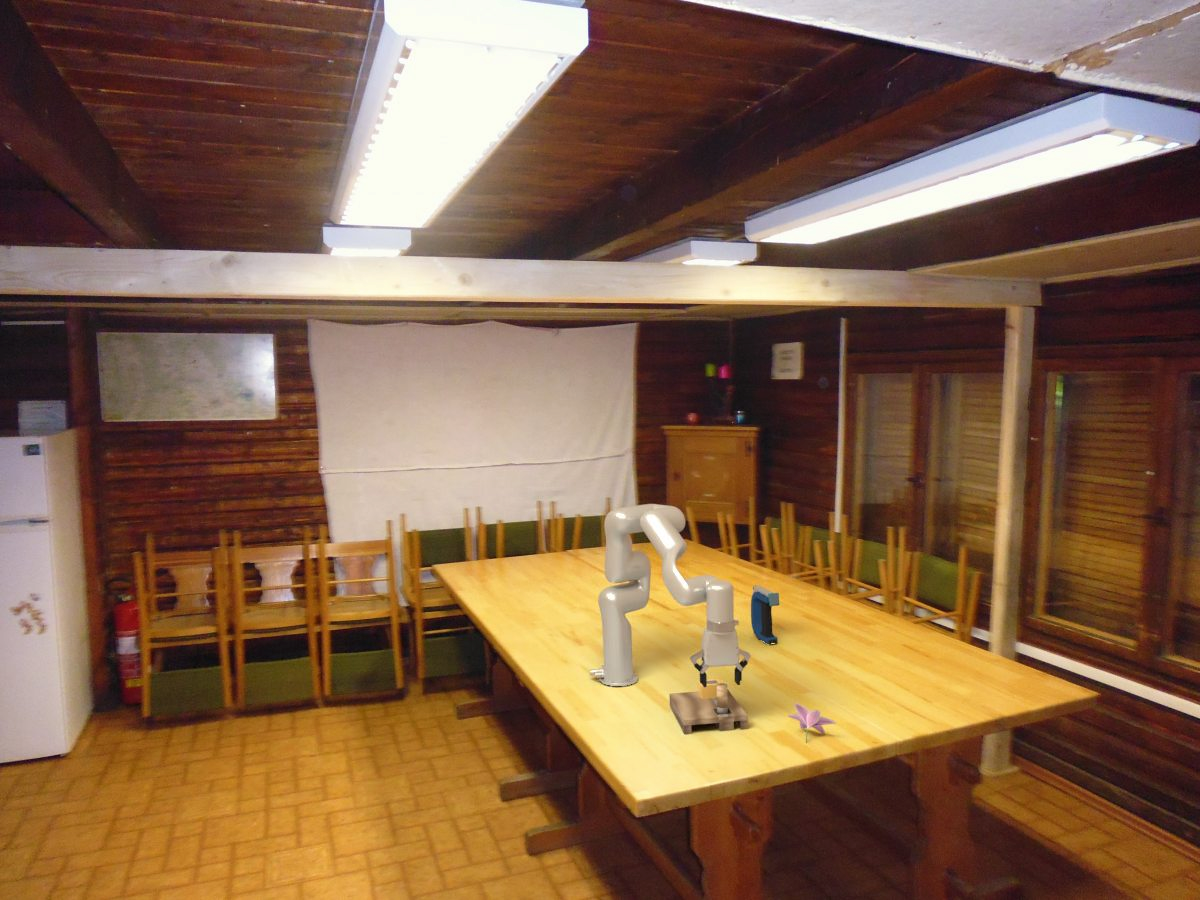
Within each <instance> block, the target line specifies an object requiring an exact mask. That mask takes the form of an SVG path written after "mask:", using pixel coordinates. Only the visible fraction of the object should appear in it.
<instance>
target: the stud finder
mask: <svg viewBox="0 0 1200 900" xmlns="http://www.w3.org/2000/svg"><path fill="white" fill-rule="evenodd" d="M720 683H724V684H725V682H724V681H723V679H722V678H713V679H712V678H711V679H710V678H709V679H707V687H703V685H702V683H700V679H698V680H697V691H698V694H699V695H700V697H701V698H702V699H709V698H717V684H720Z"/></svg>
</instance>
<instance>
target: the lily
mask: <svg viewBox="0 0 1200 900" xmlns="http://www.w3.org/2000/svg"><path fill="white" fill-rule="evenodd" d="M793 705H794V707H795V710H796V712H797V714H796V713H792V714H787V715H786V716H787V717H789V718H791V719H793V720H796V721H798V722H799V727H800V729H802V730H805V729H806V733H805V743H806V744H807V743H808V732H809V729H810V728H812V729H815V730H816V731H818V732H820V733H821V734H822V735H825V734H826V732H825V729H824V727H823V726H826V725H827V726H828V725H835V724H836V725H837V722H836V721H834V720H833V719H830V718H828V717H825V716H822V715H821V710H819V709H814V710H809V709H808V708H807V707H806V706H804V705H802V704H799V703H798V702H793Z"/></svg>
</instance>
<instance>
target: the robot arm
mask: <svg viewBox="0 0 1200 900" xmlns="http://www.w3.org/2000/svg"><path fill="white" fill-rule="evenodd" d="M603 526H604V535H605V557H604V575H605V579H606V580H607V582H610V583H612V584H614V585H610V586H608V587H606V588H604V589H602V590H601V591H600V593H599V595H598V598H597V599H598V608H599V611H600V617H601V626H602V629H601V630H602V646H603V648H602V652H603V653H602V654H603V664H602V666H601V667H599V669H595V668H594V669H589V675H590V676H594V678H599V682H600V681H601V682H602V683H604V684H606V685H605V686H607V685H610V686H609V687H612V686H622V687H627V685H628V686H632V685H635V684H636V683H637V682H638V680H639V677H638V674H637V673H636V672H634V666H633V662H634V661H633V638H632V637H633V636H632V631H633V630H632V624H631V623H630V621H629V619H628V618H627V617H626V614H628V613H631V612H632V613H633V612H636V611H639V610H642V609H644V608H646V606H647V605H648V603H649V600H650V590H651V588H650V587H651V576H652V575H651V574H652V564H651V562H650V558H649V557H648V555H647V553H645V552H644V551H642V550H638V549H637V550H636V549H634V550H633V540H632V537H631V535H630V534H637V533H643V532H644V534H645V536H646V537H647V538H648V541H650V543H651V544H652V546H653V547H654V548H655V551H656V552H657V553H658V554H659V556H660V558H661V560H662V563H661V575H662V580H663V584H664V586H665V587H666V589H667V590H668V593H670V595H671V597H672V598H673V599H674V600H675V601H676V603H678V604H679V605H681V606H683V607H691V606H694V605H698V604H702V603H706V628H704V629H703V632H702V637H701V638H702V639H701V647H700V648H701V649H700V651H697V652H696V653H694V654H693V655H690V657H689V659H690V661H691V664H692V665H693V667H694V668H695V669H696V670H697V671H698V673H699V680H700V683H702V685H703V687H707V680H708V679H707V677H708V676H707V673H706V671H707V670H708V669H709V668H711V667H713V668H714V667H729V666H735V668H734V682H735V683H736V685H737V686H740V685H741V681H742V678H743V677H742V674H743V673H742V671H743V670H744V669H745V668H746V666H747V665H748V664H749V663H748V662H749V661H750V659H751V657H752V654H751V653H750V652H747V651H746V650H743V649H741V648H740V647H739V640H738V634H737V629H736V628H735V627H736V626H739V625H740V624H739V623H740V622H739V620H738V619H737V620H736V619H735V618H734V617H735V616H734V615H735V614H734V612H735V611H734V610H735V609H734V606H735V604H734V596H735V595H734V585H733V584H732V583H731V582H730V581H727V580H720V579H719V578H717V577H716V576H713V575H712V574H702V575H698V576H693V577H690V578H684V576H683V575H682V574H681V572H680V571H679V569H678V567H677V561H678V560H680V559H681V558H682V556H683V555H685V553H686V551H687V548H688V545H687V542H686V541H685V539H684V537H682V535H681V534H680V532H682V531H683V530H684V528H685V526H686V518H685V515H684V513H683V512H682V511H681V509H680V508H678V507H677V506H674V505H673V506H672V505H666V504H657V503H646V504H639V505H631V506H630V505H629V506H624V507H619V508H615V509H612V510H611V511H609V512H608V513H607V514H606V516H605V518H604V525H603ZM740 656H743V658H742V660H740ZM700 658H701V661H702V662H701V663H698V661H697V660H699V659H700ZM601 682H600V683H601ZM602 683H601V684H602ZM604 684H603V685H604ZM631 684H632V685H631Z"/></svg>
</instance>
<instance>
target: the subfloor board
mask: <svg viewBox="0 0 1200 900" xmlns="http://www.w3.org/2000/svg"><path fill="white" fill-rule="evenodd" d="M727 696H728V714H721V715H717V698H709V699H702V698H701V697H700V695H699V694H698V690H696V691H687V692H675V693H674V692H673V693H669V707H670V710H671V711H672V713H673V715H674V717H675V719H676V721H677V723H678V725H679V727H680V729H681V730H682V732H683V734H684V735H691V734H692V726H696V725H707V724H714V725H715V726H716V728H717V729H718V731H719V732H726V731H727V732H728V731H734V730H735V729H734V722H735V724H736V725H737V726H738V728H739V730H748V729H749V728H748V725H749V722H748V714H747V713H746V711H745V710H744V708H743V707H742V706H741V705H740V703H739V702H738V700H737V699H736V698H735V697H734V695H733V694H732V693H731V691H730V690H729V689H728V688H727Z"/></svg>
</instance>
